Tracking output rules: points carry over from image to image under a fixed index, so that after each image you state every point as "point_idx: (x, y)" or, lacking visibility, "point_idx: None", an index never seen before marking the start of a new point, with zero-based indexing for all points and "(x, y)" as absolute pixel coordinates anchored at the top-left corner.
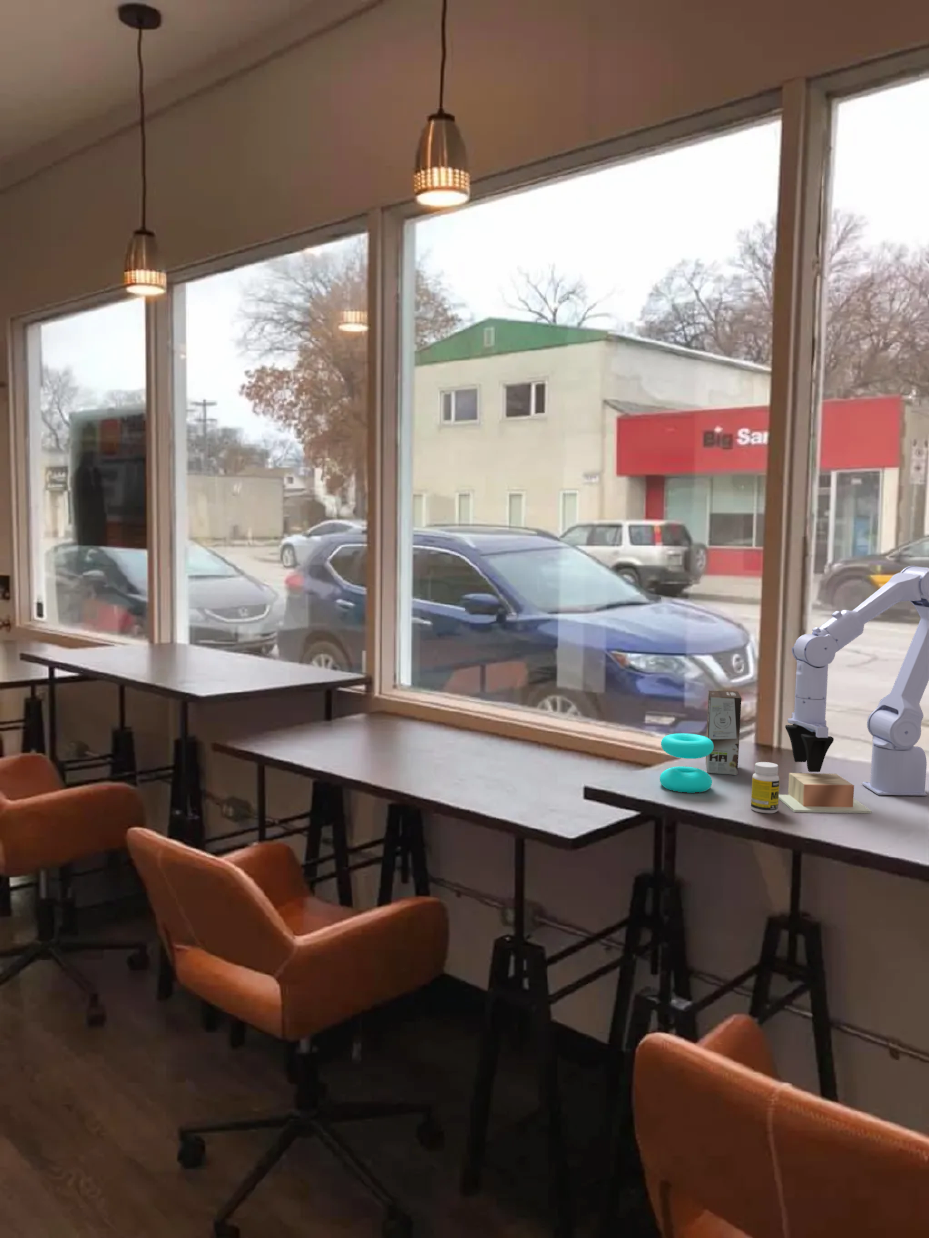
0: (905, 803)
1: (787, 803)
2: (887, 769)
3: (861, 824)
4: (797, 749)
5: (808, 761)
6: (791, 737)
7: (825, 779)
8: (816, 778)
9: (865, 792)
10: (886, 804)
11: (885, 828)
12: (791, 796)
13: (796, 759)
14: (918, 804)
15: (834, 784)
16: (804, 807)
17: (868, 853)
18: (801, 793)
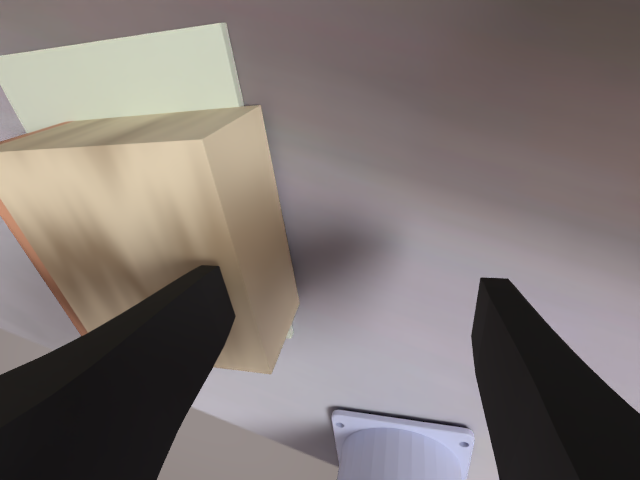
0: (269, 422)
1: (71, 50)
2: None
3: (8, 251)
4: (509, 372)
5: (143, 301)
6: (581, 478)
7: (137, 293)
8: (135, 260)
9: (372, 395)
10: (245, 384)
11: (14, 292)
12: (207, 108)
13: (481, 295)
14: (268, 438)
15: (64, 294)
16: (51, 120)
17: None
18: (50, 133)
